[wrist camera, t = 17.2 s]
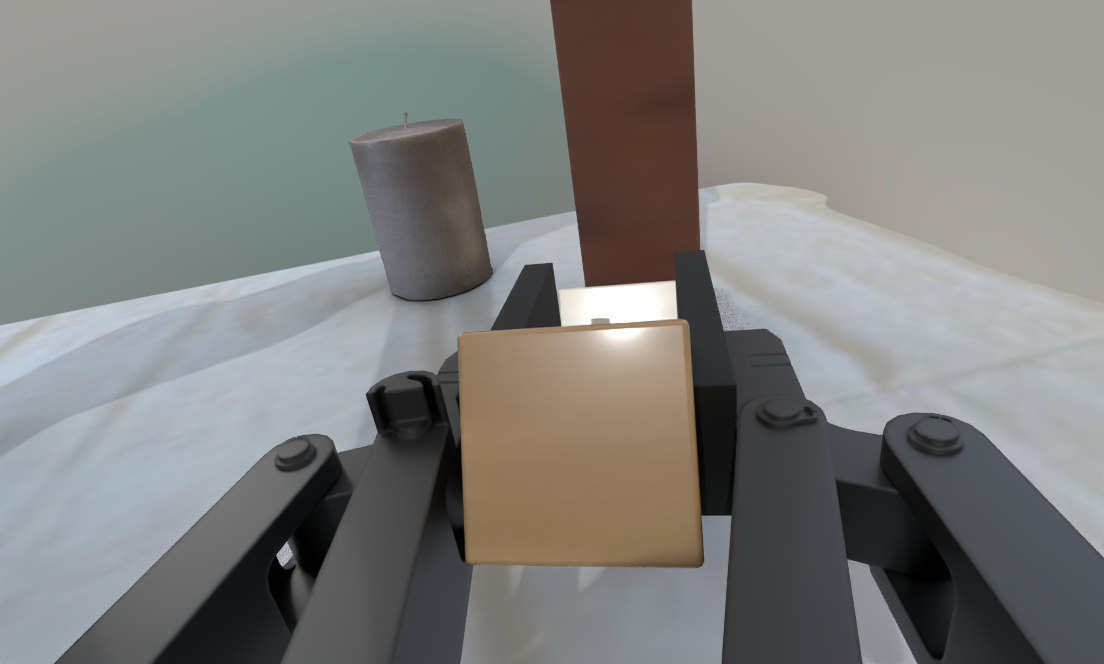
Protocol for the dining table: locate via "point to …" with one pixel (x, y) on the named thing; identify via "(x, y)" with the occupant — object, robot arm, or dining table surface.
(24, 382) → the dining table surface
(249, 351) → the dining table surface
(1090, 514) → the dining table surface
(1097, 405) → the dining table surface
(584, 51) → the plant stand
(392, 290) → the pillar candle
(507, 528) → the die stick
